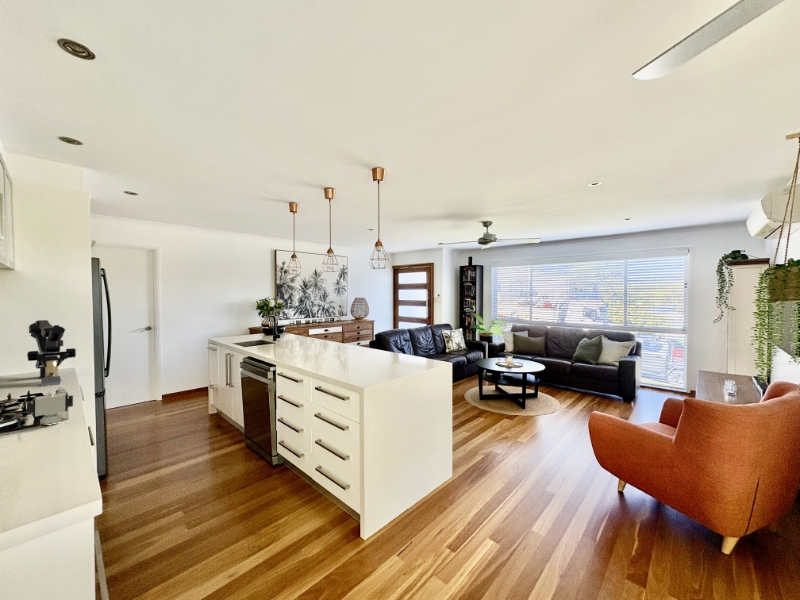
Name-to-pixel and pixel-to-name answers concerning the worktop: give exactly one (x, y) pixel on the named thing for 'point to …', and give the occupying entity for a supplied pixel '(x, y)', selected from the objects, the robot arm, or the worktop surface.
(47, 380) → the press bed
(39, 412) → the pneumatic valve
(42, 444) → the worktop surface
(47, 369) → the ball
